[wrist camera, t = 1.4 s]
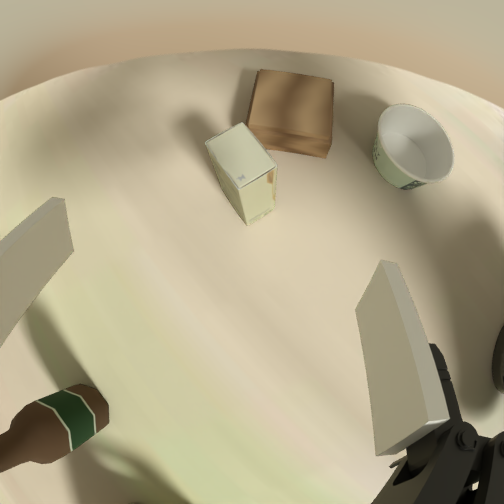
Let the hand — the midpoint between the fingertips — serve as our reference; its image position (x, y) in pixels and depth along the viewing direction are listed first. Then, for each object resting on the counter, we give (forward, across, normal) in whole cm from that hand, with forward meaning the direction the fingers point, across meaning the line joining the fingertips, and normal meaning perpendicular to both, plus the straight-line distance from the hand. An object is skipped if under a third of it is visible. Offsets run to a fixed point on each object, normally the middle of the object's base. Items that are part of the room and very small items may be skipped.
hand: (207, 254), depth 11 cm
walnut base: (+34, +4, 0) cm, 35 cm away
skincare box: (+26, 0, -10) cm, 28 cm away
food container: (+32, +21, -1) cm, 38 cm away
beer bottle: (+4, -17, -35) cm, 39 cm away
